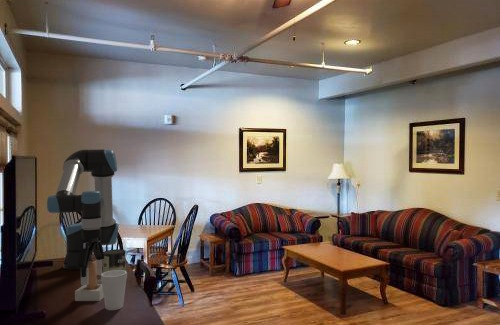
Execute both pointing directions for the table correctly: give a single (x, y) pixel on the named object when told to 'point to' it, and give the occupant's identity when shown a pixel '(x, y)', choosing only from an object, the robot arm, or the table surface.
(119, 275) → the foam cup
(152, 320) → the table surface
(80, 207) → the robot arm
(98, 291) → the bore block
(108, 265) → the coffee can
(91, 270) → the pin
